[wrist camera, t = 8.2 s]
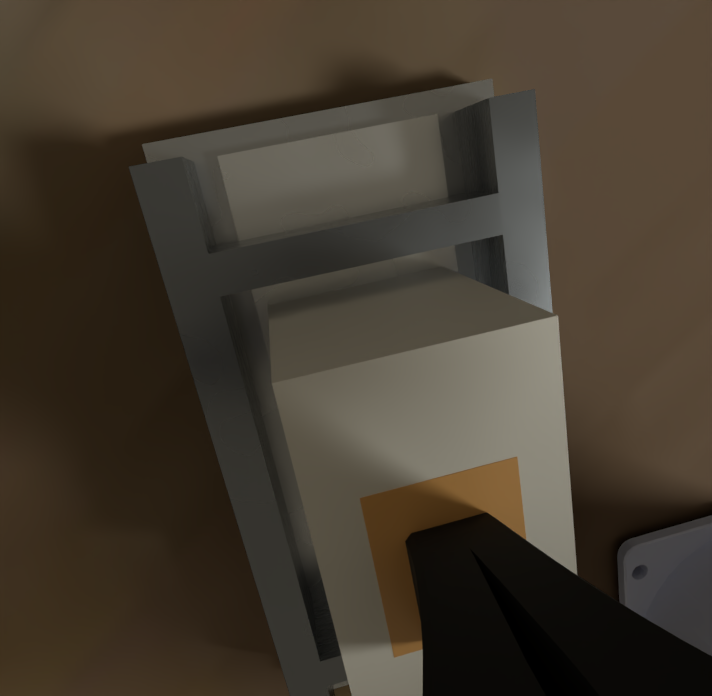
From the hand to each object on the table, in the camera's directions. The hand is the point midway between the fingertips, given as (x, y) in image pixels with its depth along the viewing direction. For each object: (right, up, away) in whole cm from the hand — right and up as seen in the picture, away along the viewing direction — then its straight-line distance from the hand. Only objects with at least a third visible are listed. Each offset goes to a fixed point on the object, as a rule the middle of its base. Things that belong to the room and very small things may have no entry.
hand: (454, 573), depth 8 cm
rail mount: (-1, +2, +6) cm, 6 cm away
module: (-1, +2, +5) cm, 5 cm away
